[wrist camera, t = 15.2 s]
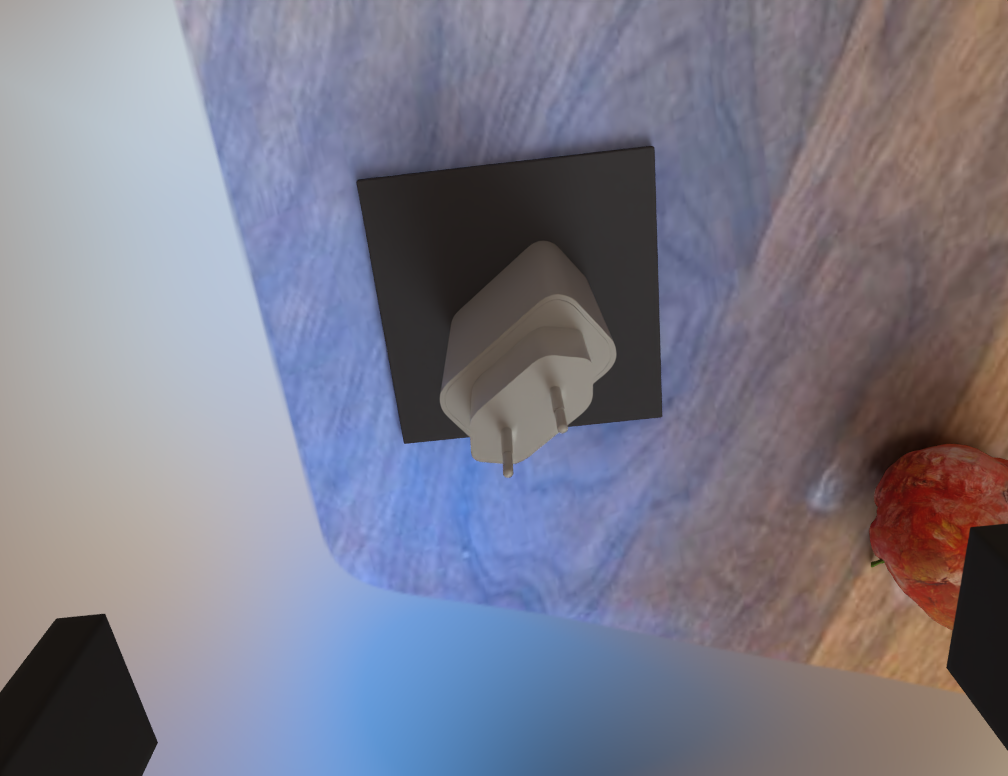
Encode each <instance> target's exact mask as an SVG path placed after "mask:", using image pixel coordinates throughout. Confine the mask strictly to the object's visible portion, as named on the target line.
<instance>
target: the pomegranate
mask: <svg viewBox="0 0 1008 776" xmlns="http://www.w3.org/2000/svg"><path fill="white" fill-rule="evenodd" d="M874 502H875V504H876V506H877V507H878V509H877V516H876V518H875V520H874V521H873V522H872V524H871V526H870V530H869V534H870V542H871V546H872V550H873V552H874V553H875V555H876V556H877V557H878V558H879V559H880V560H877V561H874V562H871V567H874V566H876V565H878V564H881V563H885V564H886V566H887V569H888V571H889V572H890V573H891V574H892V576H893V578H894V580H895V581H896V583H897V584H898V585H899V587H900V588H901V589H902V590H903V592H904V593H905V594H907V595H908V596H909V597H910V598H912V599H913V600H914V601H915V602H916V603H917V604H918V606H920V607H921V608H922V609H923V610H924V611H925V612H926V613H927V614H928V615H929V616H930V617H931V618H932V619H933V620H934V621H936V622H937V623H939V624H941V625H943V626H945V627H947V628H948V629H950V630H953V626H954V620H955V614H956V608H957V602H958V597H959V591H960V585H961V579H962V573H963V567H964V561H965V555H966V549H967V544H968V538H969V532H970V527H977V526H987V525H997V524H1007V523H1008V460H1005V459H1001V458H993V457H991V456H989V455H987V454H985V453H984V452H982V451H980V450H978V449H976V448H973V447H970V446H967V445H959V444H943V445H938V446H933V447H929V448H925V449H922V450H918V451H913V452H910V453H907V454H905V455H903V456H902V457H901V458H899V459H898V460H897V461H896V462H895V463H894V464H892V465H891V466H890V467H889V468H888V469H887V470H886V471H885V473H884V475H883V477H882V479H881V480H880V482H879V484H878V486H877V487H876V490H875V494H874Z"/></svg>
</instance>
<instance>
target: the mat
mask: <svg viewBox="0 0 1008 776" xmlns="http://www.w3.org/2000/svg"><path fill="white" fill-rule="evenodd" d="M357 188H358V193H359V198H360V204H361V209H362V215H363V220H364V226H365V231H366V237H367V242H368V248H369V253H370V259H371V264H372V270H373V275H374V281H375V286H376V292H377V297H378V303H379V308H380V314H381V319H382V325H383V330H384V336H385V341H386V347H387V352H388V358H389V363H390V369H391V374H392V380H393V385H394V391H395V396H396V402H397V407H398V413H399V418H400V424H401V429H402V435H403V440H404V444H407V443H417V442H427V441H436V440H446V439H456V438H465V437H469V436H468V435H467V434H466V433H465V432H464V431H463V430H462V429H461V428H459V427H458V426H457V425H456V424H455V423H454V422H453V421H452V420H451V419H450V418H449V417H448V416H447V415H446V414H445V413H444V412H443V410H442V408H441V404H440V393H441V387H442V380H443V374H444V367H445V361H446V354H447V348H448V342H449V335H450V329H451V322H452V319H453V317H454V315H455V314H456V313H457V312H458V311H459V310H460V309H461V308H462V307H463V306H464V305H465V304H467V303H468V302H469V301H470V300H471V299H472V298H473V297H474V296H475V295H476V294H477V293H479V292H480V291H481V290H482V289H483V288H484V287H485V286H486V285H487V284H488V283H489V282H491V281H492V280H493V279H494V278H495V277H496V276H497V275H498V274H499V273H500V272H501V271H503V270H504V269H505V268H506V267H507V266H508V265H509V264H510V263H511V262H512V261H513V260H515V259H516V258H517V257H518V256H519V255H520V254H521V253H522V252H523V251H524V250H525V249H527V248H528V247H529V246H530V245H532V244H533V243H535V242H538V241H548V242H551V243H553V244H555V245H556V246H558V248H559V249H560V250H561V251H562V252H563V253H564V254H565V255H566V256H567V257H568V258H569V260H570V261H571V262H572V263H573V264H574V265H575V266H576V267H577V268H578V269H579V270H580V272H581V273H582V274H583V275H584V276H585V277H586V279H587V281H588V283H589V286H590V288H591V290H592V293H593V295H594V297H595V300H596V302H597V304H598V307H599V309H600V311H601V314H602V316H603V319H604V321H605V323H606V326H607V328H608V330H609V333H610V335H611V337H612V340H613V342H614V345H615V347H616V359H615V362H614V364H613V366H612V367H611V368H610V369H609V370H608V372H607V373H605V374H604V375H603V376H602V377H601V378H599V379H598V380H597V381H596V382H595V383H593V397H592V401H591V403H590V405H589V406H588V408H587V409H586V410H585V411H584V412H583V413H582V414H581V415H580V416H578V417H577V418H576V419H575V420H573V421H572V422H571V423H570V424H569V425H567V426H568V427H571V426H581V425H591V424H600V423H610V422H620V421H629V420H639V419H649V418H658V417H662V392H661V358H660V323H659V289H658V255H657V220H656V186H655V152H654V147H653V146H646V147H637V148H628V149H620V150H611V151H602V152H593V153H585V154H576V155H567V156H559V157H550V158H541V159H532V160H524V161H515V162H506V163H498V164H489V165H480V166H472V167H463V168H454V169H445V170H437V171H428V172H419V173H411V174H402V175H393V176H384V177H376V178H367V179H359V180H357Z"/></svg>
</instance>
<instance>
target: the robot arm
mask: <svg viewBox="0 0 1008 776" xmlns="http://www.w3.org/2000/svg"><path fill="white" fill-rule="evenodd" d="M946 668H947V669H948V670H949V672H950V673H951V675H952V676H953V677H954V679H955V680H956V681H957V683H958V684H959V685H960V687H961V688H962V689H963V691H964V692H965V693H966V695H967V696H968V698H969V699H970V700H971V702H972V703H973V704H974V706H975V707H976V708H977V710H978V711H979V712H980V714H981V715H982V716H983V718H984V719H985V721H986V722H987V723H988V725H989V726H990V727H991V729H992V730H993V731H994V733H995V734H996V735H997V737H998V738H999V739H1000V741H1001V742H1002V743H1003V745H1004V746H1005V748H1006V749H1007V750H1008V523H1007V524H997V525H987V526H977V527H970V532H969V538H968V544H967V549H966V555H965V561H964V567H963V573H962V579H961V585H960V591H959V597H958V602H957V608H956V614H955V620H954V626H953V632H952V638H951V644H950V650H949V656H948V661H947V667H946ZM157 743H158V742H157V739H156V737H155V734H154V732H153V730H152V727H151V725H150V722H149V720H148V717H147V715H146V712H145V710H144V708H143V705H142V703H141V700H140V698H139V695H138V693H137V690H136V688H135V686H134V683H133V681H132V678H131V676H130V673H129V671H128V669H127V666H126V664H125V661H124V659H123V656H122V654H121V652H120V649H119V647H118V644H117V642H116V639H115V637H114V634H113V632H112V629H111V627H110V625H109V622H108V620H107V617H106V615H105V614H97V615H87V616H77V617H67V618H57V619H56V620H55V621H54V622H53V624H52V625H51V626H50V627H49V629H48V630H47V631H46V633H45V634H44V635H43V637H42V638H41V639H40V641H39V642H38V643H37V645H36V646H35V647H34V649H33V650H32V651H31V653H30V654H29V655H28V656H27V658H26V659H25V660H24V662H23V663H22V664H21V666H20V667H19V668H18V670H17V671H16V672H15V674H14V675H13V676H12V677H11V679H10V680H9V681H8V683H7V684H6V685H5V687H4V688H3V690H2V691H1V692H0V776H142V775H143V773H144V771H145V768H146V766H147V764H148V762H149V760H150V758H151V756H152V754H153V752H154V750H155V747H156V745H157Z"/></svg>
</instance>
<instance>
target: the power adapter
mask: <svg viewBox="0 0 1008 776" xmlns="http://www.w3.org/2000/svg"><path fill="white" fill-rule="evenodd" d="M615 359H616V347H615V345H614V342H613V340H612V337H611V335H610V333H609V330H608V328H607V326H606V323H605V321H604V319H603V316H602V314H601V311H600V309H599V307H598V304H597V302H596V300H595V297H594V295H593V293H592V290H591V288H590V286H589V283H588V281H587V279H586V277H585V276H584V275H583V274H582V273H581V272H580V270H579V269H578V268H577V267H576V266H575V265H574V264H573V263H572V262H571V261H570V260H569V258H568V257H567V256H566V255H565V254H564V253H563V252H562V251H561V250H560V249H559V248H558V246H556V245H555V244H553V243H551V242H548V241H538V242H535V243H533V244H532V245H530V246H529V247H528V248H527V249H525V250H524V251H523V252H522V253H521V254H520V255H519V256H518V257H517V258H516V259H515V260H513V261H512V262H511V263H510V264H509V265H508V266H507V267H506V268H505V269H504V270H503V271H501V272H500V273H499V274H498V275H497V276H496V277H495V278H494V279H493V280H492V281H491V282H489V283H488V284H487V285H486V286H485V287H484V288H483V289H482V290H481V291H480V292H479V293H477V294H476V295H475V296H474V297H473V298H472V299H471V300H470V301H469V302H468V303H467V304H465V305H464V306H463V307H462V308H461V309H460V310H459V311H458V312H457V313H456V314H455V315H454V317H453V319H452V322H451V329H450V335H449V342H448V348H447V354H446V361H445V367H444V374H443V380H442V387H441V393H440V404H441V408H442V410H443V412H444V413H445V414H446V415H447V416H448V417H449V418H450V419H451V420H452V421H453V422H454V423H455V424H456V425H457V426H458V427H459V428H461V429H462V430H463V431H464V432H465V433H466V434H467V435H468V436H469V437H470V441H471V454H472V457H473V458H474V459H475V460H476V461H480V462H489V463H501V464H503V475H504V476H505V477H506V478H510V477H511V476H512V475H513V464H516V463H519V462H521V461H523V460H525V459H527V458H528V457H529V456H531V455H532V454H533V453H534V452H536V451H537V450H538V449H539V448H540V447H542V446H543V445H544V444H545V443H547V442H548V441H549V440H550V439H551V438H553V437H554V436H555V435H556V434H558V433H565V432H567V430H568V426H567V425H569V424H570V423H571V422H572V421H573V420H575V419H576V418H577V417H578V416H580V415H581V414H582V413H583V412H584V411H585V410H586V409H587V408H588V406H589V405H590V403H591V401H592V397H593V383H595V382H596V381H597V380H598V379H599V378H601V377H602V376H603V375H604V374H605V373H607V372H608V370H609V369H610V368H611V367H612V366H613V364H614V362H615Z"/></svg>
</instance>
